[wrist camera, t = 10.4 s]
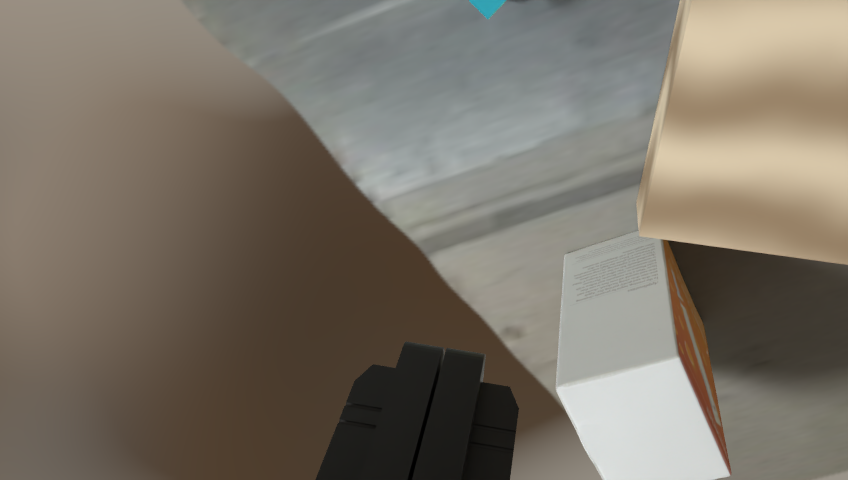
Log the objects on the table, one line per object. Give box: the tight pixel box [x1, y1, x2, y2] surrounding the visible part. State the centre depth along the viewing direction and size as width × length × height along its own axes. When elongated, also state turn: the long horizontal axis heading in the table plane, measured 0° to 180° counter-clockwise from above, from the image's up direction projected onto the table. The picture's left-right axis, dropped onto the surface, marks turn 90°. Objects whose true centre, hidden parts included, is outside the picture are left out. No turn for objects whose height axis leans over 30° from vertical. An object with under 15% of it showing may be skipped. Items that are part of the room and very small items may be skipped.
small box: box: [556, 230, 731, 480], centre depth 45 cm, size 8×6×13 cm
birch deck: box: [636, 0, 848, 265], centre depth 40 cm, size 17×12×4 cm
